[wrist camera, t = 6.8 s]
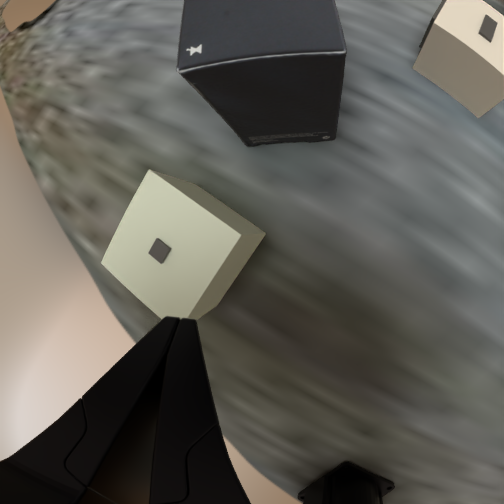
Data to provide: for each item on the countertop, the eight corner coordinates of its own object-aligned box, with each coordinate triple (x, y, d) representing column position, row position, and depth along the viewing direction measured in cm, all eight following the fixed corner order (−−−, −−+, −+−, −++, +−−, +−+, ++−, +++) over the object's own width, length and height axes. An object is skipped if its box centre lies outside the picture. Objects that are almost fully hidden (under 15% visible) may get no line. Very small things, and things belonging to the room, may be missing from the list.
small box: (342, 142, 18) (357, 55, 8) (243, 148, 19) (166, 79, 9) (323, 20, 17) (311, -83, 7) (240, 28, 18) (188, -63, 8)
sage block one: (266, 233, 19) (239, 235, 13) (217, 305, 20) (175, 334, 14) (192, 182, 20) (142, 166, 14) (151, 252, 21) (95, 260, 15)
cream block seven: (496, 71, 14) (530, 36, 8) (477, 118, 15) (519, 86, 9) (433, 24, 15) (453, -22, 9) (408, 66, 16) (429, 17, 10)
